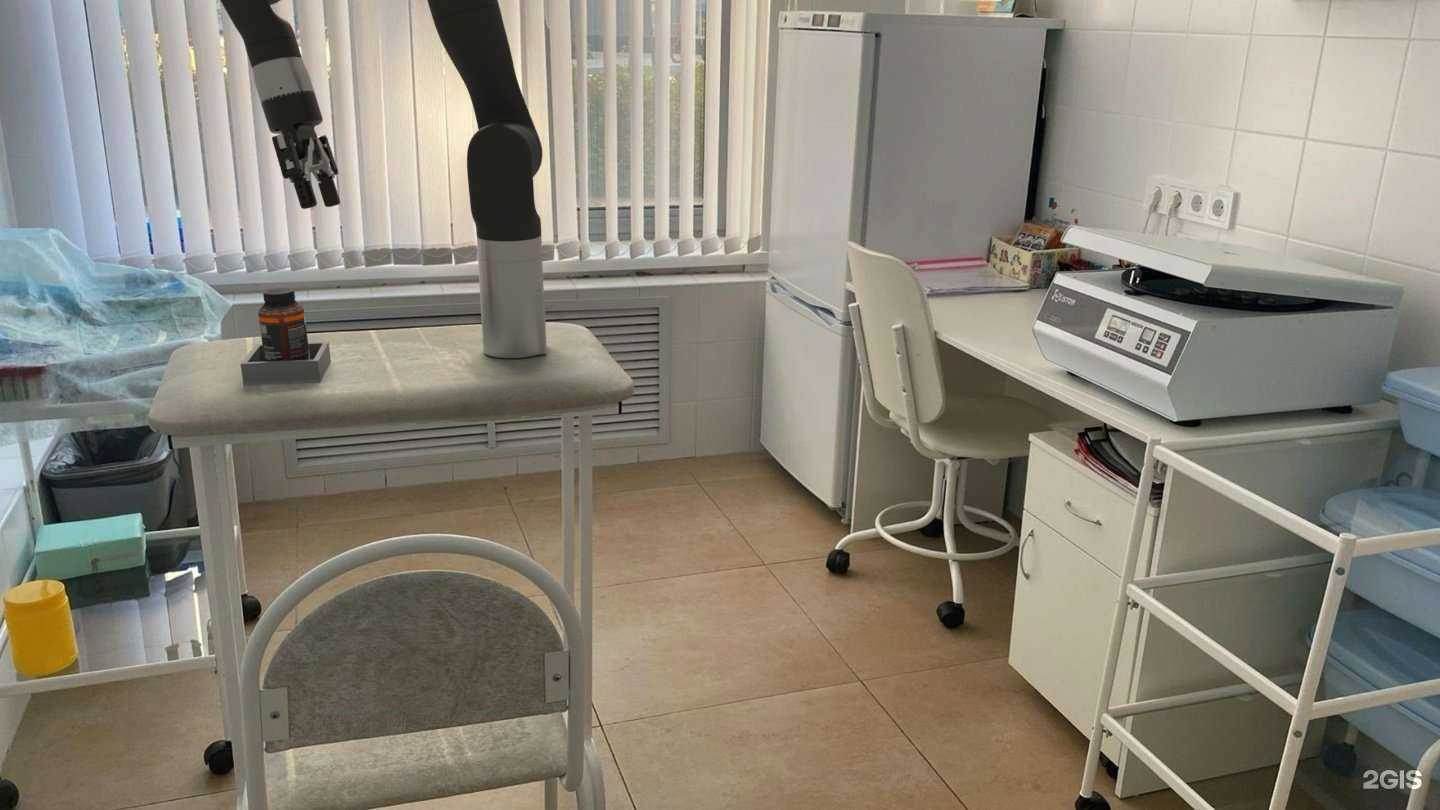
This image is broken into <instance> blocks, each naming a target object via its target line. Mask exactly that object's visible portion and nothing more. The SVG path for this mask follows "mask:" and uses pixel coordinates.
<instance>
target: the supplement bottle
mask: <svg viewBox="0 0 1440 810" xmlns="http://www.w3.org/2000/svg"><path fill="white" fill-rule="evenodd" d="M262 295H263V301H264V303H263V305H262V306H261V307H260V308H259V309H258V312H257V314H258V322H259V329H260V338H261V344H262V345H263V353H264V361H291V360H310V354H309V346H308V342H309V338H308V330H307V324H306V322H307V321H306V315H305V309H304V307H303V305H302V304H300V303H298V302H297V301H296V296H295V295H296V294H295V290H294V288H292V287H275V288H274V287H273V288H268V289H265V290H264V291H263V292H262Z"/></svg>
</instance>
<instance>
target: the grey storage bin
mask: <svg viewBox="0 0 1440 810" xmlns="http://www.w3.org/2000/svg"><path fill="white" fill-rule="evenodd" d="M308 346H309V354H310V360H291V361H264V353H263V345H262V343H257V344H255V345H254V346H253V347H252V348H251V350H250V351H249V352H248V354H246V356H245V358H244V359H243V360H242V361H241V363H240V369H241V378H242V379H241V380H242V385H243V386H255V385H256V386H258V385H259V386H260V385H264V386H265V385H283V384H286V385H287V384H302V383H303V384H304V383H305V384H306V383H308V384H309V383H310V384H311V383H321V382H322V380H323V378H324V376H325V374H326V372H327V371H328V369H329V367H330V364H331V363H332V359H331V352H330V350H331V349H330V348H331V347H330V341H316V342H315V341H313V342H309V341H308Z"/></svg>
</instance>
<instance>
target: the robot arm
mask: <svg viewBox="0 0 1440 810" xmlns="http://www.w3.org/2000/svg"><path fill="white" fill-rule="evenodd" d="M219 1H220V3H221V4H222V6H223V8H224V10H225V11H226V13H227V15H228V17H229V18H230V20H231V22H232V23H233V25H234V27H235V29H236V30H237V32H238V34H239V35H240V36H241V38H242V40H243V43H244V44H243V45H244V47H245V51H246V54H247V57H248V61H249V64H250V67H251V70H252V74H253V80H254V84H255V85H254V86H255V88H256V91H257V94H258V98H259V101H260V105H261V109H262V110H263V114H264V118H265V120H266V123H267V126H268V127H267V128H268V130H269V132H270V133H271V134H274V135H273V136H272V137H271V140H272V144H273V148H274V150H275V151H274V152H275V154H276V158H277V162H278V165H279V168H280V171H281V175H282V178H284V179H285V180H287V179H288V180H289V182H290V183H291V184H293V187H294V190H295V192H296V195H297V199H298V202H299V206H300V208H301V209H302V210H306V209H311V208H315V207H317V205H318V202H317V198H316V195H315V192H314V188H313V185H312V182H311V179H310V173H312V175H313V176H314V178H315V180H316V181H317V182H318V183H317V185H318V188H319V192H320V195H321V197H322V200H323V204H324V206H325V208H326V207H327V208H331V207H335V206H339V205H340V204H341V199H340V197H339V196H340V195H339V193H338V190H337V187H336V183H335V179H336V176H337V175H339V169H338V166H337V164H336V161H335V158H334V154H333V151H332V148H331V146H330V142H329V139H328V137H327V135H325V134H323V135H317V133H316V130H315V127H316V126H319V125H321V123H323V121H324V120H323V115H322V112H321V109H320V105H319V102H318V99H317V97H316V93H315V89H314V86H313V82H312V80H311V77H310V73H309V71H308V69H307V66H306V64H305V63H304V58H303V57H302V53H301V50H300V46H299V44H298V40H297V38H296V34H295V31H294V29H293V26H292V25H291V23H290V22H289V21H288V20H286V19H285V18H283V17H281V16H279V15H278V14H276V13H275V11H274V10H273V8H272V7H271V6H273V5H275V4H277V3H278V2H281V1H282V0H219ZM427 4H428V8H429V11H430V13H431V18H432V21H433V24H434V26H435V29H436V32H437V34H438V38H439V40H440V42H441V43H442V46H443V47H444V50H445V52H446V53H447V55H448V57H449V59H450V60H451V62H452V64H453V65H454V67H455V69H456V70H457V73H458V74H459V76H460V78H461V80H462V81H463V83H464V86H465V87H466V89H467V91H468V95H469V98H470V101H471V103H472V108H473V112H474V115H475V121H476V123H477V129H478V130H477V131H476V132H475V133H474V134H473V136H472V137H471V139H470V141H469V144H468V147H467V153H466V169H467V170H466V171H467V182H468V194H469V204H470V212H471V213H470V214H471V216H472V220H473V221H474V224H475V229H476V230H475V233H476V247H477V264H478V265H477V266H478V281H479V299H480V315H481V329H482V330H481V332H482V333H481V335H482V337H481V339H482V347H483V354H485V355H487V356H489V357H492V358H498V359H499V358H500V359H522V358H528V357H534V356H538V355H547V353H548V352H547V329H546V303H545V301H546V298H545V288H544V286H545V285H544V272H543V270H544V269H543V268H544V267H543V264H544V263H543V248H542V245H543V243H542V240H543V239H542V219H541V217H540V215H539V214H538V212H537V208H536V205H535V204H536V203H535V190H534V177H535V176H536V175H537V173H538V172H539V170H540V168H541V167H542V166H541V165H542V161H543V146H542V142H541V140H540V136H539V133H538V131H537V129H536V127H535V124H534V121H533V119H532V117H531V114H530V111H529V109H528V107H527V104H526V101H525V99H524V95H523V94H522V90H521V87H520V84H519V82H518V78H517V73H516V70H515V65H514V60H513V57H512V52H511V48H510V47H511V46H510V44H509V40H508V39H509V38H508V35H507V31H506V28H505V27H506V26H505V23H504V20H503V15H502V11H501V7H500V4H499V0H427ZM275 134H276V135H275Z"/></svg>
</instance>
